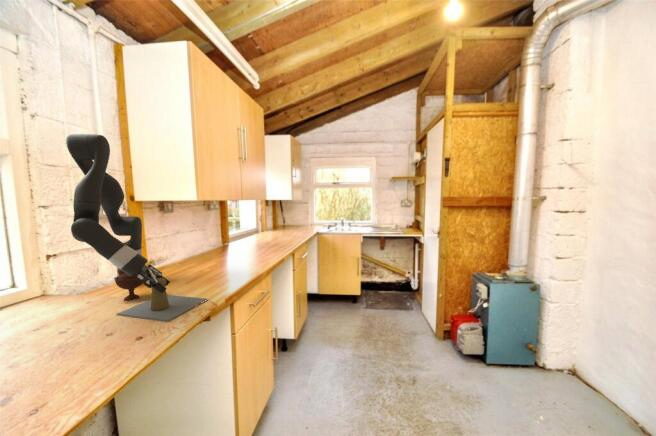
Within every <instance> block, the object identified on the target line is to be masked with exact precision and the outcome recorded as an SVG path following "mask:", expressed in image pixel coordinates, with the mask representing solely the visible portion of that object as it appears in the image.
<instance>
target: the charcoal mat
mask: <svg viewBox="0 0 656 436" xmlns="http://www.w3.org/2000/svg"><path fill="white" fill-rule="evenodd" d="M167 298H168V302H169V307H167V308H165V309H162V310H156V311H152V310H150V308H151V299H149V300H146V301H144V302H141V303H139V304H136V305H134V306H132V307H129V308H126V309H125V310H122V311H120V312H117V313H116V316H121V317H127V318H128V317H129V318H136V319H142V320H151V321H157V322H158V321H159V322H163V323H164V322H165V323H166V322H167V323H169V322H171V321H172V320H174V319H176V318H178V317H180V316H182V315H184V314H185V312H186V313H187V312H189V311H191V310H192V309H191V308H193V307H195V306H196V305H198V304H200V303H201V302H203V301H205V300H207V299H208V298H202V297H194V296H186V295H184V296H183V295H175V294H167ZM207 301H208V300H207ZM200 305H201V304H200ZM198 306H199V305H198ZM196 307H197V306H196ZM196 307H195V308H196ZM190 309H191V310H190ZM193 309H194V308H193Z"/></svg>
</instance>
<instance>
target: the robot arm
mask: <svg viewBox="0 0 656 436" xmlns="http://www.w3.org/2000/svg"><path fill="white" fill-rule="evenodd" d="M65 146H66V148H67V150H68V152H69V154H70V156H71V157H72V159H73V160H74V162H75V163H76V165H77V166H78V168H79V170H81V172H82V173H83V177H82V179H81V180H80V181H79V182H78V183H77V185H76V186H75V189H74V194H73V207H72V208H73V220H72V222H73V223H72V224H71V226H70V231H71V235H72V237H73V238H74V240H76V241H79V242H82V243H86V244H88V245H89V246H91V247H92V248H93V249H94V250H95V252H96V253H98V254H99V255H100V256H101V257H103V258H105V260H108V261H109V262H110V264H112V265H113V266H115V267H116V274H117V275H116V277H118V276H119V274H118V268H119V269H120V270H122V271H123V272H125V273H126V274H128V275H129V276H133V275H134V274H135V273H136V274H137V275H138V276H137V277H136V279H137V280H139V281H140V282H141V283H143V284H142V285H144V286H145V287H147V288H149V289H152V288H155V289H156V290H158V291H159V292H161V293H163V292H164V291H165V290H167V286H168V285H169V284H170V283H171V281H170V280H169V279H167V278H166V277H165V276H164V275H163V272H162V271H160V270H159V269H157V268H156V267H155V266H153V265H152V264H148V265H146V264H147V263H148V262H149V260H148V259H147V258H146V257H144V256H143V255H142V254H143V253H142V251H143V250H142V243H143V239H142V238H143V237H142V236H143V223H142V222H143V221H142V219H141V218H140V217H139V216H133V215H132V216H131V215H130V216H123V215H120V212H119V210H120V208H121V207H122V204H123V203H124V201H125V193H124V191H123V188H122V186H121V184H120V182H119V181H118V180H117V179H116V178H115V177H113V176H112V175H111V174H109V173H107V169H108V164H109V160H110V155H111V153H110V152H111V147H110V143H109V141H108V138H106V137H105V136H104V135H102V134H95V133H93V134H91V133H70V134H68V135H67V136H66V137H65ZM101 207H102V210H103V211H104V214H105V216H106V218H107V221H108V224H109V226H110V229H111V231H112V233H113V234H114V235H116V236H117V237H128V236H130V239H129V240H127V241H125V242H122V241H121V240H120V239H118V238H117V237H114V235H113V234H111V233H110V232H109V231H108V230H107V229H106V228H105V227H104V226H103V225H101V224H100V213H101V212H100V211H101ZM156 278H165V279H166V285H165V286H163V285H162V284H160V283H159V282H158V281H157V280H156ZM151 287H152V288H151Z"/></svg>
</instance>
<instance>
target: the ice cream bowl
mask: <svg viewBox="0 0 656 436" xmlns="http://www.w3.org/2000/svg"><path fill="white" fill-rule="evenodd" d="M118 274H119V276H118V277H117V276H116V277H114V278H113V280H114V282H115V284H116V285H117V287H119V288H120V289H123V290H128V295H126V296H125V297H124V298H123V301H124V302H130V301H136V300H138V299H140V295H139V294H135V290H136V288H139V287H140V286H142V285H144V284H143V283H141V282H140V281H139V280H137V279H136V277H137V276H138V275H137V274H136V273H135V274H134V275H133V276H129V275H128V274H126V273H125V272H123V271H122V270H120V269H119V268H118Z"/></svg>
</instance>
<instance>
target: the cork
mask: <svg viewBox="0 0 656 436" xmlns="http://www.w3.org/2000/svg"><path fill="white" fill-rule="evenodd" d="M165 278H166V277H165ZM165 278H156V280H157V281H158V282H159V283H160V284H162V285H163V286H165V285H166V279H167V278H166V279H165ZM165 287H166V286H165ZM150 289H151V298H150V300H151V308H150V310H152V311H156V310H162V309H165V308H167V307H169V302H168V298H167V295H168V293H167V291H166V290H167V289H166V290H165V291H164V292H163V293H161V292H159V291H158V290H156V289H155V288H152V287H151V288H150Z"/></svg>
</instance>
